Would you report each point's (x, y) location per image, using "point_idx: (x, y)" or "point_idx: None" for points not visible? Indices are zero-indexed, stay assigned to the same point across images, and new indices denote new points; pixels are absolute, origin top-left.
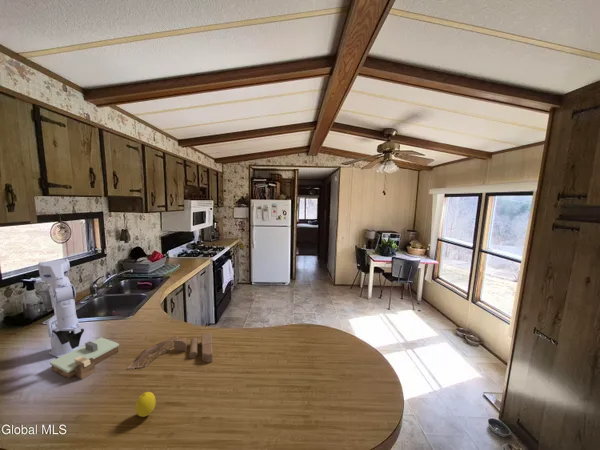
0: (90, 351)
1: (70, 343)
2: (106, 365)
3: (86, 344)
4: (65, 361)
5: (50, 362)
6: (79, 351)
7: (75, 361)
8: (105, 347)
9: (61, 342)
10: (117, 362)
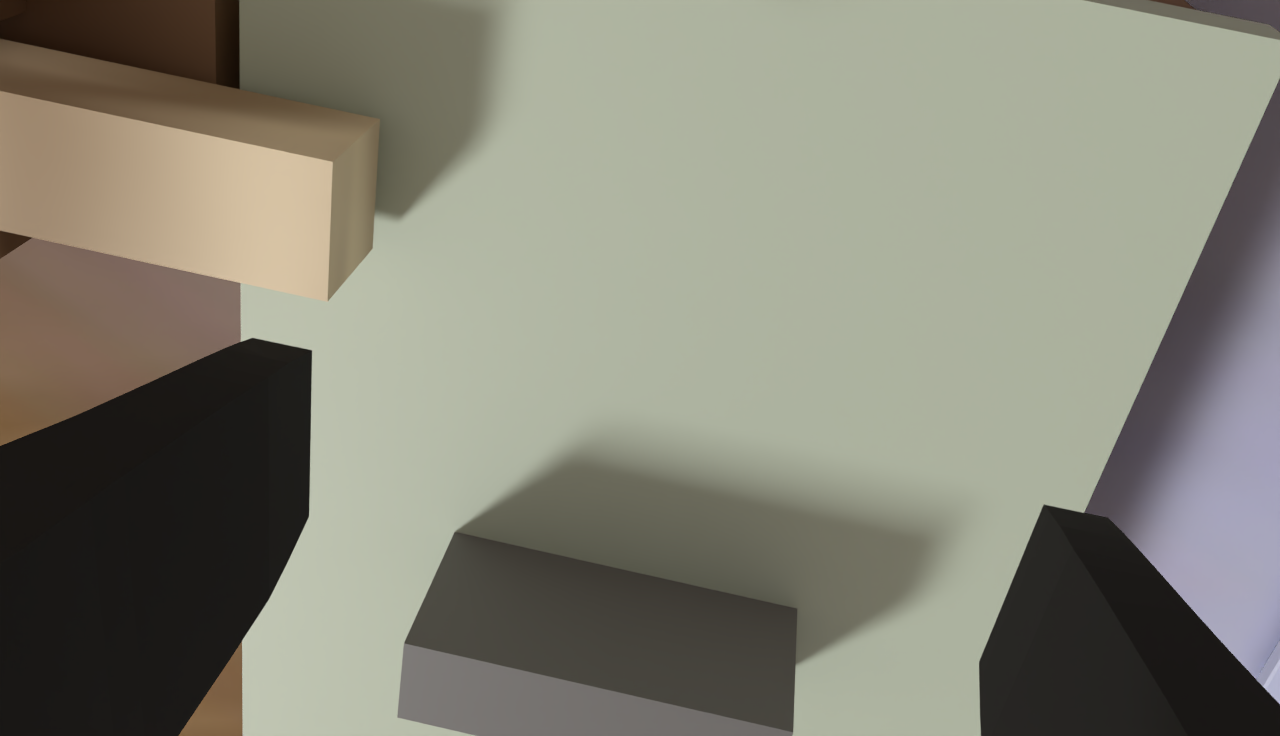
0: (559, 544)
1: (46, 440)
2: (100, 325)
3: (725, 700)
4: (780, 143)
5: (1245, 33)
6: (859, 521)
7: (307, 125)
8: (375, 682)
9: (1077, 567)
10: (2, 418)
